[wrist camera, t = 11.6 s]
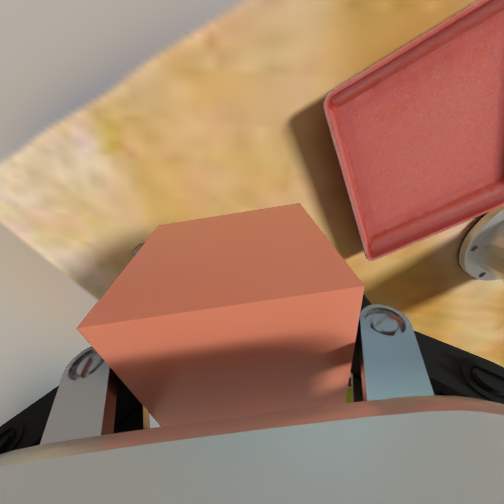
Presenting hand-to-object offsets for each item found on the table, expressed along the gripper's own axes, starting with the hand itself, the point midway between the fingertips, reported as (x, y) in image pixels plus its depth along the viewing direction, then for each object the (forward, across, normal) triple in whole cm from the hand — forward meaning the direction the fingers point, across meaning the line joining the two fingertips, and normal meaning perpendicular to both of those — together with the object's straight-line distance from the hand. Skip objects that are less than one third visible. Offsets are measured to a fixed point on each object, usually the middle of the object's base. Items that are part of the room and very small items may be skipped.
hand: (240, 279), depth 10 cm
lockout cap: (+1, 0, 0) cm, 1 cm away
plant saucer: (+15, -19, -2) cm, 24 cm away
